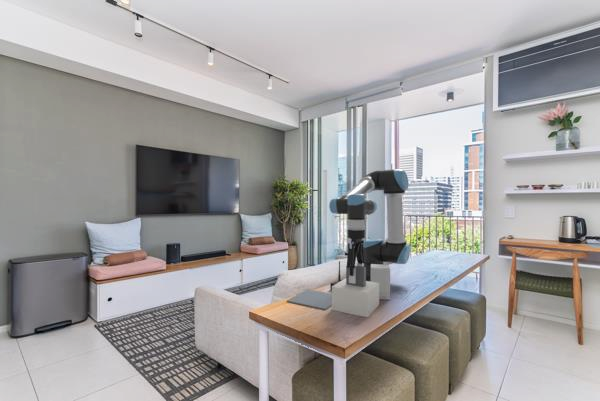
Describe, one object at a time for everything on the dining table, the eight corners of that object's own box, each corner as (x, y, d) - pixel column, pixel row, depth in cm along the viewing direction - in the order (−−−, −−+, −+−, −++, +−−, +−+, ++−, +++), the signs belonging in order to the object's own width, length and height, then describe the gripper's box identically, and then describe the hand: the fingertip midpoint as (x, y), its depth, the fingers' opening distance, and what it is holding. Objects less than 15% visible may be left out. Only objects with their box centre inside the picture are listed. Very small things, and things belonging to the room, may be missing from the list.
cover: (345, 298, 140) (345, 261, 140) (379, 305, 132) (379, 265, 132) (331, 309, 126) (331, 267, 126) (367, 317, 118) (368, 272, 118)
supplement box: (390, 300, 138) (390, 268, 138) (370, 298, 140) (371, 267, 140) (388, 294, 147) (388, 264, 147) (370, 293, 149) (370, 263, 149)
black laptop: (344, 283, 167) (344, 253, 167) (366, 288, 158) (366, 256, 158) (323, 291, 152) (323, 258, 152) (346, 297, 143) (346, 262, 143)
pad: (307, 290, 153) (307, 289, 153) (343, 296, 143) (343, 295, 143) (286, 301, 136) (286, 300, 136) (325, 310, 126) (325, 308, 126)
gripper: (356, 226, 140) (356, 273, 140) (338, 230, 122) (338, 285, 122) (371, 227, 136) (371, 276, 136) (355, 231, 118) (355, 288, 118)
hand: (356, 280), depth 129 cm, fingers open, 9 cm apart
